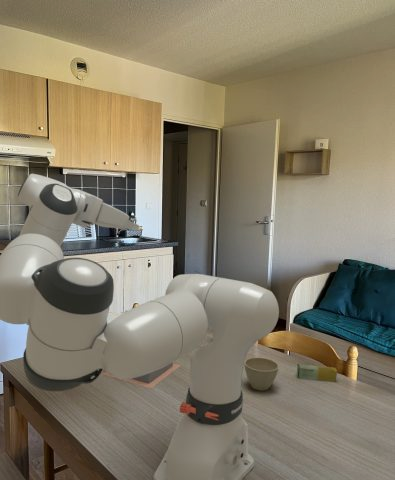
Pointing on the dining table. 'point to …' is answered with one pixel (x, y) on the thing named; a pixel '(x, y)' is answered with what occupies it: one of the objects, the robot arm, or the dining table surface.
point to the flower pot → (261, 372)
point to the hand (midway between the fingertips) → (131, 228)
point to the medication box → (316, 372)
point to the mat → (152, 381)
